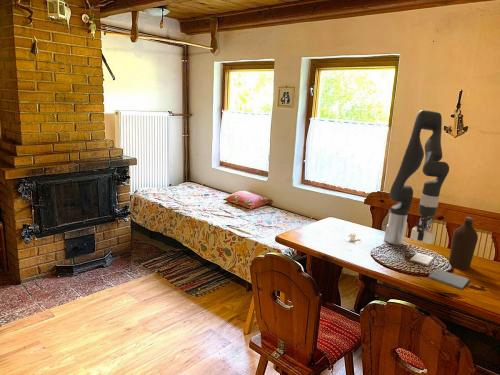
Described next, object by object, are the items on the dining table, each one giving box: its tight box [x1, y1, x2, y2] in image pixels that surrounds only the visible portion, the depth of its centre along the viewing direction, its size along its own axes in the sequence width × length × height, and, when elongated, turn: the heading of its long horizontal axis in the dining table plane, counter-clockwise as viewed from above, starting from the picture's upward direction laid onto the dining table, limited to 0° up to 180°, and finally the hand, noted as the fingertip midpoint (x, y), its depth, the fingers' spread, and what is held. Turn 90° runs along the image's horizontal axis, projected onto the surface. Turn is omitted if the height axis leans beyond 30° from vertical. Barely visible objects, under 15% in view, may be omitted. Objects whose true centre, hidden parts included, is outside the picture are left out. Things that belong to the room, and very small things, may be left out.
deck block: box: [409, 226, 436, 245], centre depth 174 cm, size 9×4×5 cm, turn 48°
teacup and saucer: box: [344, 232, 361, 244], centre depth 209 cm, size 9×8×4 cm
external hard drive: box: [409, 252, 435, 267], centre depth 189 cm, size 2×8×12 cm
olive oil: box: [448, 216, 479, 270], centre depth 183 cm, size 11×11×25 cm
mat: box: [428, 268, 470, 290], centre depth 169 cm, size 14×12×1 cm
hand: (421, 238), depth 174 cm, fingers closed on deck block, 4 cm apart
